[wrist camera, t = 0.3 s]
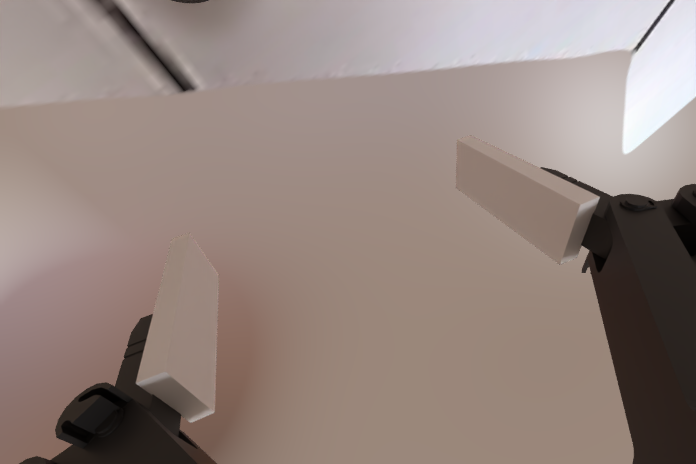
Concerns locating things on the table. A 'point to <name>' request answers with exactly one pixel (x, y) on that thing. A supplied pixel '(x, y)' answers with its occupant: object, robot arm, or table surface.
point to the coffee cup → (190, 1)
